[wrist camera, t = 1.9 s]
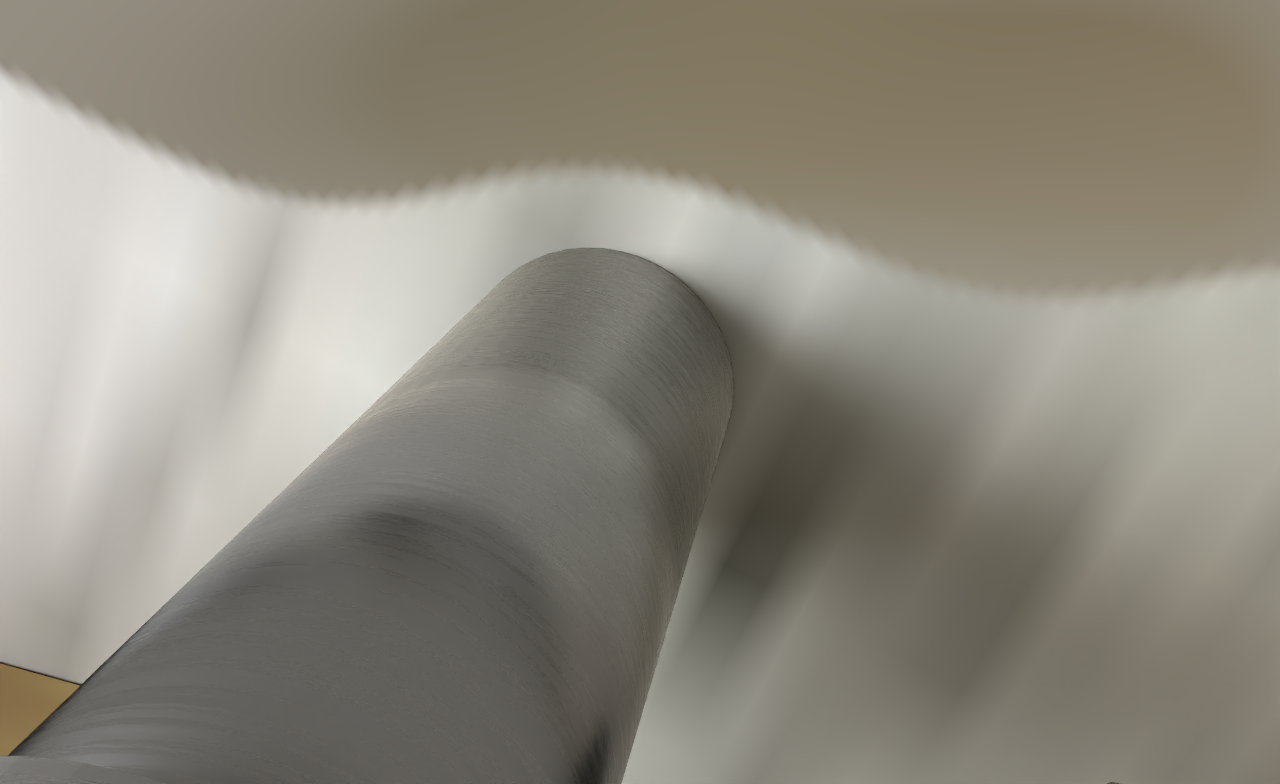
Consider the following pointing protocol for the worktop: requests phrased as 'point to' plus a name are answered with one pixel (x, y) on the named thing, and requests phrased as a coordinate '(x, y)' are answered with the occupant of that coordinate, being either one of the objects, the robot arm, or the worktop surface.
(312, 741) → the hinge pin
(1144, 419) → the worktop surface
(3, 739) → the knuckle leaf
